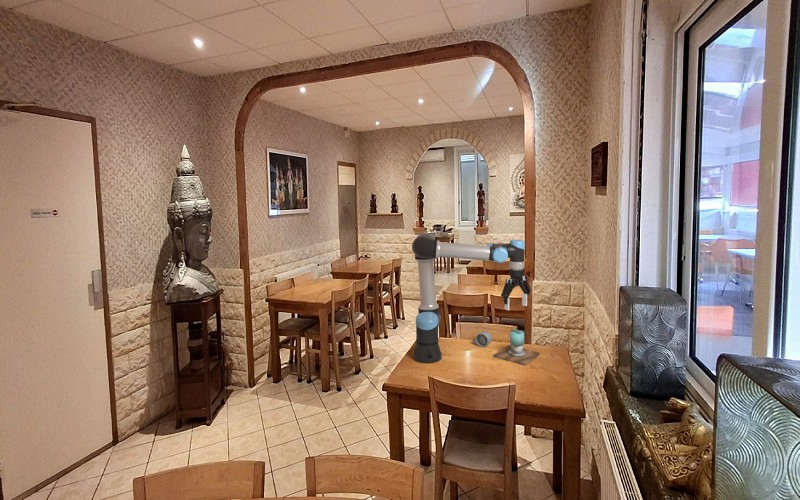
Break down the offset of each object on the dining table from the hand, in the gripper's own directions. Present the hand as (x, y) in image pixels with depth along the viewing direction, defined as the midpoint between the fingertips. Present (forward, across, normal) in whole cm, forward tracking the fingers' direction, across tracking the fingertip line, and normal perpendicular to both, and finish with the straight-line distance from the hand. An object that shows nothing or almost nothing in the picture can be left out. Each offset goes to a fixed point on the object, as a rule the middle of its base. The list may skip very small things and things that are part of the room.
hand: (515, 307), depth 224 cm
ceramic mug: (+25, -7, +18) cm, 32 cm away
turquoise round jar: (+18, -4, -5) cm, 19 cm away
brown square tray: (+25, -4, -5) cm, 25 cm away
